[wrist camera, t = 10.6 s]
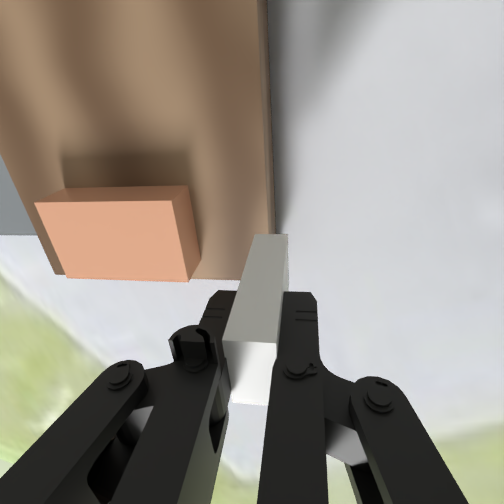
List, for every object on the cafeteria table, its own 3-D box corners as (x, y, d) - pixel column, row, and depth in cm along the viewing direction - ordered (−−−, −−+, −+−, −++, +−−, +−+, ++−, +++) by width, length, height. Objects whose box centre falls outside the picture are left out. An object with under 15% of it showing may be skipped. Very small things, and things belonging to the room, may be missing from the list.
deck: (266, -24, 16) (254, -50, 12) (276, 251, 24) (270, 281, 20) (0, 13, 19) (-71, 0, 15) (88, 248, 26) (55, 274, 23)
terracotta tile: (187, 185, 18) (171, 200, 16) (201, 260, 20) (188, 282, 18) (64, 187, 19) (33, 202, 17) (91, 257, 22) (67, 278, 19)
